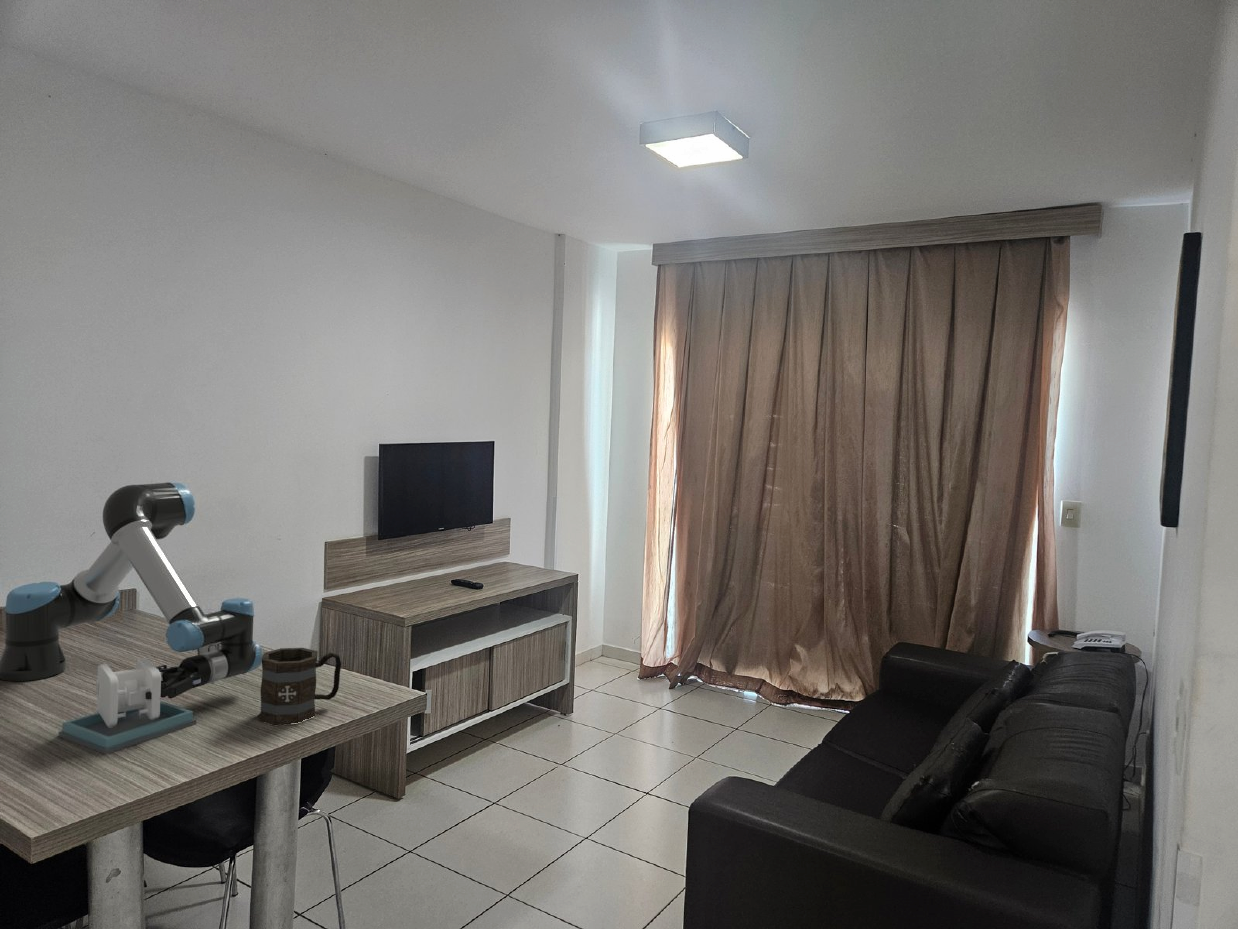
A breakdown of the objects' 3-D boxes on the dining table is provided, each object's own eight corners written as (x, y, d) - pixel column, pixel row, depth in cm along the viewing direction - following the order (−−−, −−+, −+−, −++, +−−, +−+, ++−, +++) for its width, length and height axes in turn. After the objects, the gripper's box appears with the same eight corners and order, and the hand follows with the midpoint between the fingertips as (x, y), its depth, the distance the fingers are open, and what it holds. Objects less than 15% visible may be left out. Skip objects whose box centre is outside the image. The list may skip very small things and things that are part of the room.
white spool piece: (94, 711, 187) (96, 661, 186) (146, 702, 194) (148, 654, 193) (108, 732, 175) (109, 679, 175) (162, 722, 183) (164, 671, 182)
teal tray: (58, 736, 179) (58, 723, 179) (150, 708, 198) (150, 696, 198) (105, 754, 172) (105, 740, 171) (196, 723, 190) (196, 711, 190)
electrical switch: (201, 670, 228) (201, 637, 228) (193, 667, 231) (193, 635, 231) (235, 663, 235) (234, 631, 235) (226, 661, 238) (226, 629, 238)
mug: (268, 730, 189) (271, 667, 189) (249, 712, 199) (252, 652, 199) (350, 713, 202) (352, 654, 202) (328, 697, 213) (330, 641, 212)
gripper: (234, 694, 195) (146, 722, 176) (171, 675, 206) (81, 700, 186) (235, 663, 195) (146, 688, 175) (172, 646, 205) (82, 667, 186)
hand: (113, 694), depth 181 cm, fingers closed on white spool piece, 11 cm apart
